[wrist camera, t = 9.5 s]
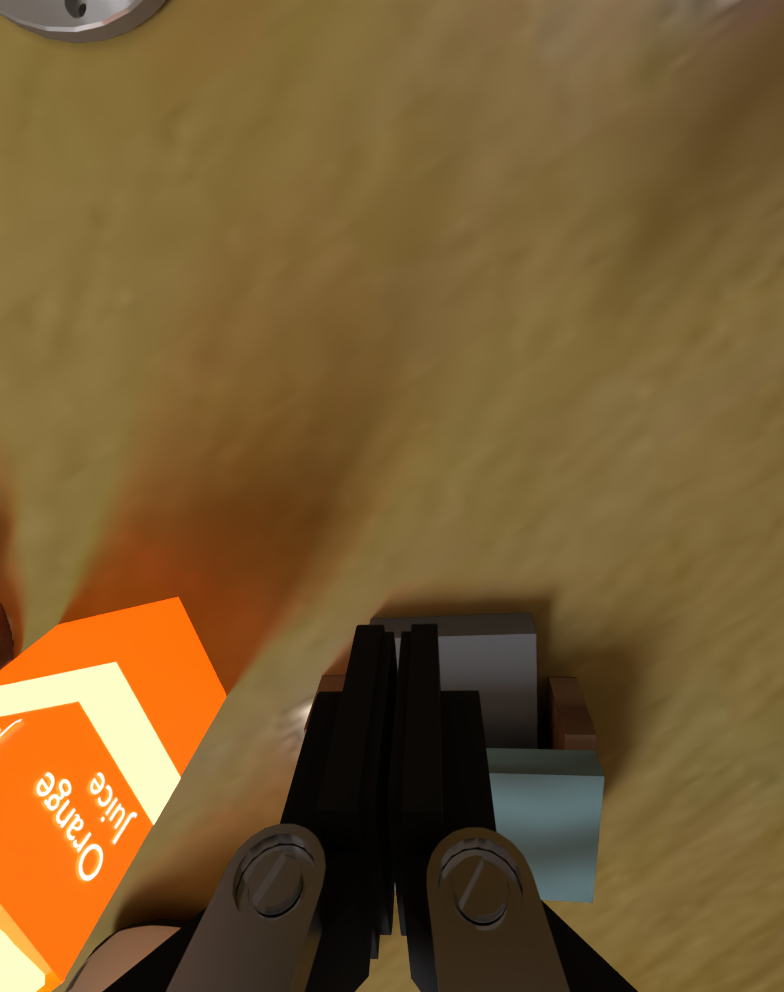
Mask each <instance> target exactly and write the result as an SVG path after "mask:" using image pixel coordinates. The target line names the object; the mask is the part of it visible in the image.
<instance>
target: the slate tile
mask: <svg viewBox="0 0 784 992" xmlns="http://www.w3.org/2000/svg"><path fill="white" fill-rule="evenodd" d="M412 624H438V642H439V662H440V682H441V691H475V690H478V691H479V696H480V703H481V711H482V719H483V727H484V735H485V743H486V748H507V749H538V745H537V658H536V631H535V628H534V624H533V621H532V618H531V614H530V613H513V614H486V615H458V616H431V617H404V618H376V619H371V620H370V624H369V625H384V628H385V632H394V636H395V646H396V657H397V668H398V665H399V653H400V641H401V632H402V631H411V625H412Z"/></svg>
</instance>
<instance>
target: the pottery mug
mask: <svg viewBox="0 0 784 992" xmlns="http://www.w3.org/2000/svg"><path fill="white" fill-rule="evenodd" d="M13 645H14V643H13V640H12V632H11V630H10V625H9V623H8V620H7V617H6V614H5V612H4V610H3V607H2V605H1V604H0V670H1V669H3V668H4V667H5V666H6V665H8V664H9V663H10V662H11V661H13Z"/></svg>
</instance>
